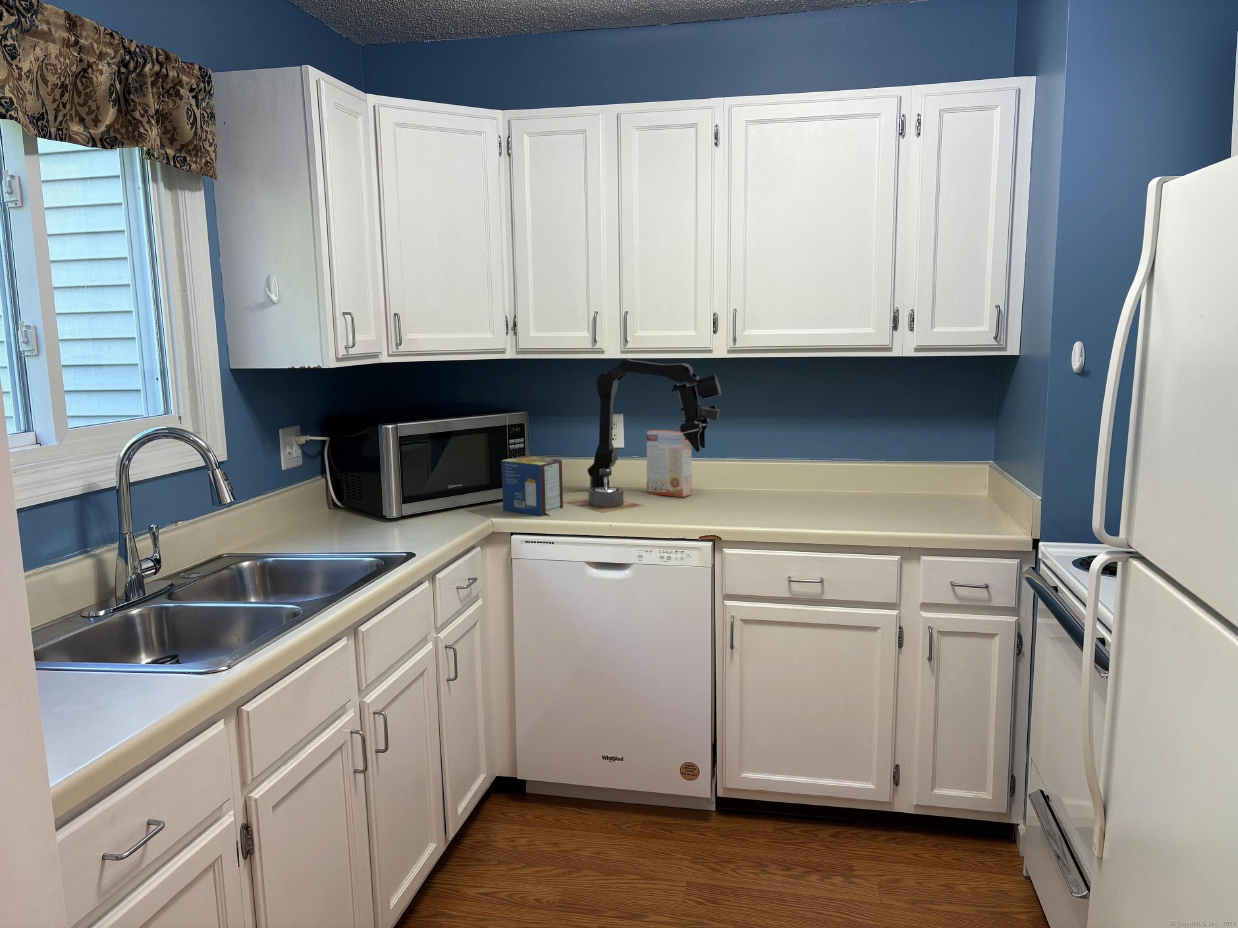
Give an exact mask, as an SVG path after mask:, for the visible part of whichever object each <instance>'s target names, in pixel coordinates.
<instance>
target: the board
mask: <svg viewBox="0 0 1238 928" xmlns="http://www.w3.org/2000/svg"><path fill="white" fill-rule="evenodd" d="M564 503H565V504H567V505H571V506H576V507H579V508H583V509H586V510H591V511H594V512H598V513H603V514H604V513H610V512H616V511H621V510H628V509H633V508H634V509H635V508H640V507H645V504H644V505H643V504H639V503H637V502H631V501H628V500H624V499H623V505H622V506H620V507H614V508H597V507H592V506H589V498H588V496H587V497H582V498H580V497H579V498H574V499H573V498H572V499H567V500H563V504H564Z"/></svg>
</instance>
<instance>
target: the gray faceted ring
mask: <svg viewBox="0 0 1238 928" xmlns="http://www.w3.org/2000/svg"><path fill="white" fill-rule="evenodd" d="M609 487H610V488H616V489H617V491H616V492H595V489H596V488H594V487H591V488H590V487H589V489H587V490H588V492H587V493H588V494H587V495H588V496H587V497H588V498H589V506H592V507H597V508H614V507H620V506H622V505H623V500H624V489H623V488H621V487H618V486H617V487H616V486H609ZM597 488H603V487H597Z"/></svg>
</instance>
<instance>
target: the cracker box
mask: <svg viewBox="0 0 1238 928" xmlns="http://www.w3.org/2000/svg"><path fill="white" fill-rule="evenodd" d="M683 433H684V432H683ZM692 447H693V446H692V445H691V444H690V442H689V441H688V440H687V439H686V437H685V436H684V435H683V434H682V433H681V431H680V430H679V431H677V430H665V429H663V430H662V429H654V430H648V431H646V493H647V494H648V495H656V496H657V495H658V496H669V497H676V498H677V497H678V498H684V497H688V496H691V495H692Z"/></svg>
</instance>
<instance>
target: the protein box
mask: <svg viewBox="0 0 1238 928" xmlns="http://www.w3.org/2000/svg"><path fill="white" fill-rule="evenodd" d="M500 462H501V480H502V481H501V483H502V485H501V487H502V488H501V489H502V511H504V512H510V513H516V514H523V515H529V516H530V515H531V516H537V517H544V516H547V515H549V513H550V512H553V511H557V510H561V509H563V508H564V502H563V501H564V497H563V496H564V495H563V493H564V491H563V488H564V487H563V461H562V459H560V458H547V457H546V458H545V457H534V456H527V455H526V456H525V455H523V456H517V457H512V458H507V459H502V460H501V461H500Z"/></svg>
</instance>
